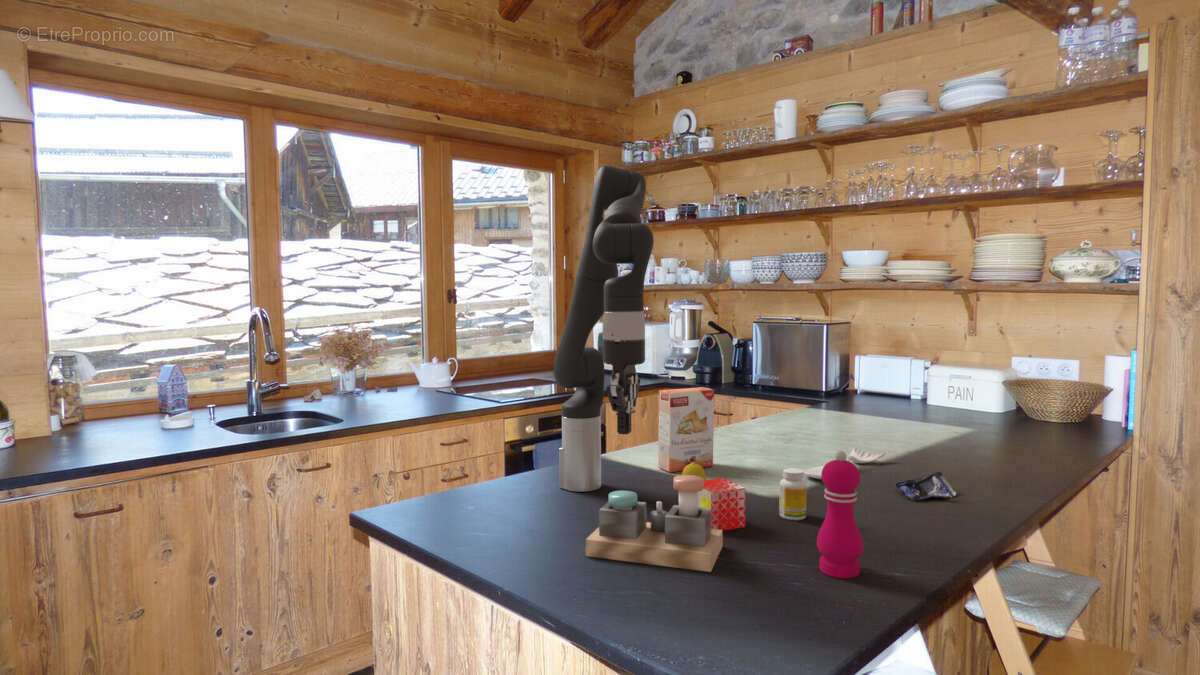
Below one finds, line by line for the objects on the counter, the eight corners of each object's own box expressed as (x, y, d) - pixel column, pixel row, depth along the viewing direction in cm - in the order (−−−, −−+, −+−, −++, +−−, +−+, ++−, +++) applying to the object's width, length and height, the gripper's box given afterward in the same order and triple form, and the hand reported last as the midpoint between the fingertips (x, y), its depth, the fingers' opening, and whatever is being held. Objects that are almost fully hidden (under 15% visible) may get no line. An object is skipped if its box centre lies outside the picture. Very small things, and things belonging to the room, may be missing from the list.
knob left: (604, 533, 121) (604, 497, 121) (614, 524, 126) (613, 489, 126) (632, 537, 119) (632, 500, 119) (640, 527, 124) (640, 492, 124)
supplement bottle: (773, 514, 140) (774, 469, 140) (793, 510, 143) (794, 465, 142) (791, 522, 136) (792, 475, 135) (812, 518, 138) (812, 471, 137)
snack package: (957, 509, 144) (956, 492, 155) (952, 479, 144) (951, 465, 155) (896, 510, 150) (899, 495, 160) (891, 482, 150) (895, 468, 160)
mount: (585, 556, 119) (585, 513, 119) (607, 533, 130) (607, 494, 130) (710, 572, 112) (710, 526, 111) (722, 546, 123) (722, 505, 123)
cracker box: (670, 473, 173) (670, 392, 172) (657, 468, 178) (657, 389, 177) (714, 467, 179) (714, 388, 178) (701, 462, 185) (701, 385, 183)
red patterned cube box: (689, 520, 137) (689, 482, 137) (722, 515, 141) (722, 477, 140) (711, 533, 130) (711, 492, 130) (745, 527, 133) (745, 487, 133)
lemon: (705, 501, 150) (705, 465, 149) (680, 500, 151) (680, 464, 150) (706, 494, 155) (706, 459, 155) (682, 492, 156) (682, 458, 156)
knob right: (670, 519, 117) (670, 481, 117) (677, 510, 122) (677, 473, 121) (700, 522, 115) (700, 484, 115) (705, 512, 120) (706, 476, 120)
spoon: (887, 463, 183) (887, 450, 183) (828, 487, 161) (828, 472, 161) (854, 457, 189) (855, 445, 189) (794, 480, 167) (794, 466, 167)
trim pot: (648, 531, 123) (648, 504, 122) (653, 525, 126) (653, 498, 125) (665, 533, 122) (665, 505, 121) (670, 527, 125) (669, 500, 124)
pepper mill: (809, 563, 115) (810, 446, 114) (850, 561, 116) (852, 445, 114) (827, 581, 108) (828, 457, 107) (871, 579, 108) (873, 455, 107)
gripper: (615, 334, 128) (616, 425, 129) (591, 339, 115) (591, 439, 116) (654, 335, 125) (654, 427, 126) (633, 339, 113) (633, 442, 114)
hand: (624, 433), depth 121 cm, fingers closed
